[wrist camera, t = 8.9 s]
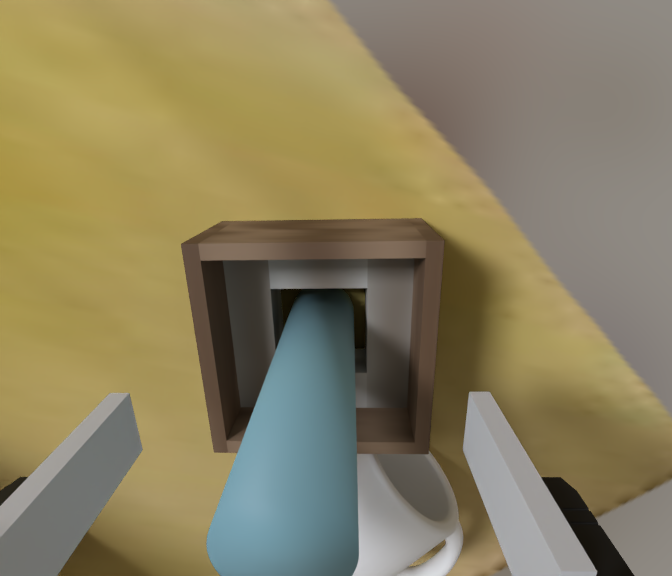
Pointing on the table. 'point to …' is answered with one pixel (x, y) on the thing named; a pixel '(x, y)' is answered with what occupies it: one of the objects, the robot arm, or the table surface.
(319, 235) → the crate
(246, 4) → the table surface
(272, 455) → the peg
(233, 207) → the table surface
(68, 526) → the robot arm
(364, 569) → the mug
